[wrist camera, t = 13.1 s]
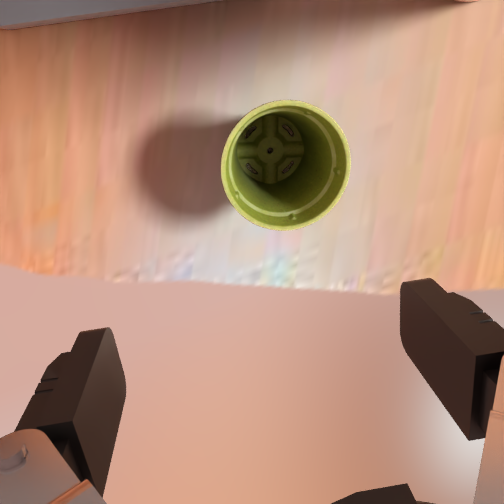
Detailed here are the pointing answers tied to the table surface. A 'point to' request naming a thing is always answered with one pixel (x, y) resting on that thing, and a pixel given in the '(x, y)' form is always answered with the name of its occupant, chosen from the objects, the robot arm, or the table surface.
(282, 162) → the plant pot
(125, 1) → the hole plate
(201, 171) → the table surface
